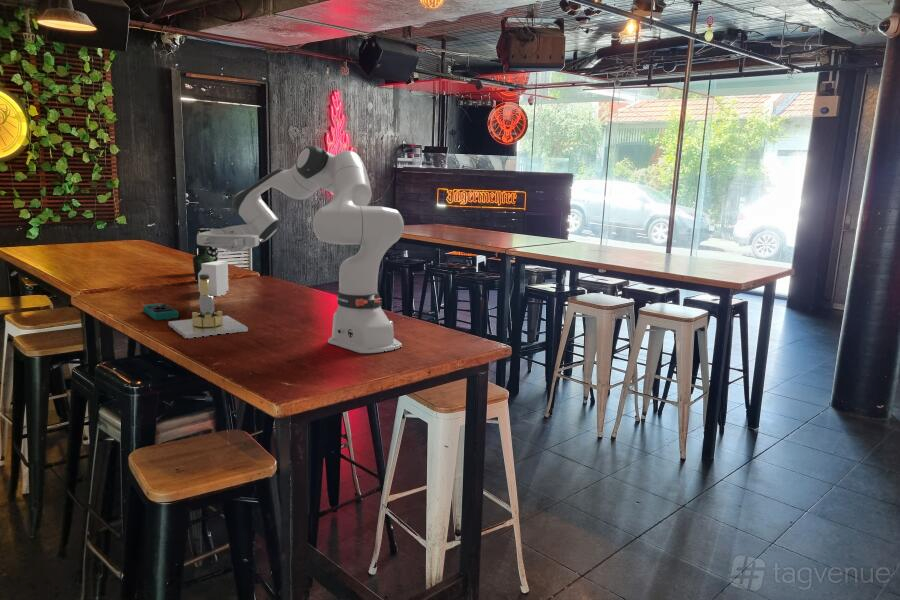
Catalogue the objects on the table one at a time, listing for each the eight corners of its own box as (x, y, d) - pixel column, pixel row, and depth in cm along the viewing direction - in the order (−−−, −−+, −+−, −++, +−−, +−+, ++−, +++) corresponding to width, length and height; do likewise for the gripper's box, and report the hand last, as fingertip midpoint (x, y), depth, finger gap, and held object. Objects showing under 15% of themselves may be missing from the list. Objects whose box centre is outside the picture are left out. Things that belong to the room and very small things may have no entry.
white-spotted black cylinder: (206, 275, 284) (205, 230, 280) (194, 273, 288) (193, 228, 284) (222, 273, 291) (221, 229, 287) (210, 271, 295) (209, 227, 291)
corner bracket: (216, 297, 241) (215, 265, 238) (192, 293, 244) (191, 262, 242) (235, 292, 250) (234, 261, 248) (211, 289, 254) (210, 259, 252)
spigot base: (247, 331, 193) (247, 298, 191) (185, 338, 183) (184, 304, 181) (225, 318, 209) (224, 287, 207) (167, 324, 198) (165, 292, 196)
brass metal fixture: (223, 325, 193) (222, 281, 190) (193, 327, 189) (191, 282, 186) (219, 315, 205) (218, 273, 203) (191, 317, 202) (189, 274, 199)
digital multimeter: (165, 310, 218) (165, 302, 217) (179, 319, 206) (179, 310, 206) (142, 313, 213) (142, 304, 212) (155, 322, 202) (154, 312, 201)
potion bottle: (189, 281, 269) (187, 238, 265) (206, 279, 275) (204, 237, 272) (201, 283, 264) (199, 240, 261) (218, 281, 271) (216, 239, 267)
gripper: (265, 248, 223) (250, 252, 209) (208, 246, 224) (189, 250, 211) (265, 230, 222) (249, 233, 208) (207, 228, 223) (188, 231, 210)
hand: (218, 241), depth 210 cm, fingers open, 8 cm apart
